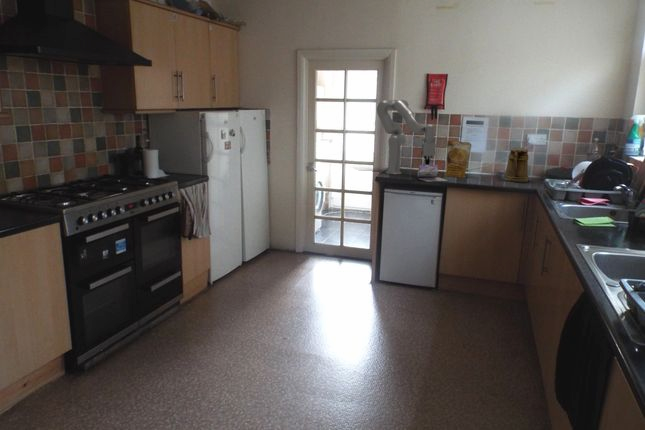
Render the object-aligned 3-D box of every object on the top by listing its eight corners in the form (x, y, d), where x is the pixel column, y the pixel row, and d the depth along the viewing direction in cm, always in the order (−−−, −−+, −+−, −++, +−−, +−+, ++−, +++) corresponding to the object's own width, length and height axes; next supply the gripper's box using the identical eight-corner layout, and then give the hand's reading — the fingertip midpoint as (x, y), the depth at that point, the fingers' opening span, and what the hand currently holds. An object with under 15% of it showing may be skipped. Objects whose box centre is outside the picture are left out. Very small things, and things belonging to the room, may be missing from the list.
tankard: (529, 180, 377) (533, 148, 371) (526, 184, 357) (530, 150, 351) (504, 177, 385) (508, 146, 379) (500, 181, 365) (504, 148, 359)
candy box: (435, 170, 375) (438, 164, 359) (435, 177, 374) (438, 172, 358) (417, 170, 376) (419, 164, 360) (417, 177, 375) (419, 172, 359)
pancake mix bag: (445, 174, 393) (448, 140, 386) (468, 177, 382) (472, 142, 375) (442, 175, 387) (445, 140, 381) (465, 178, 376) (469, 142, 370)
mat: (418, 178, 371) (418, 178, 371) (438, 177, 376) (439, 177, 376) (426, 181, 358) (426, 181, 358) (448, 181, 363) (448, 180, 363)
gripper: (422, 141, 365) (420, 165, 369) (440, 141, 369) (438, 164, 373) (417, 140, 372) (416, 164, 376) (435, 140, 376) (433, 163, 380)
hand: (427, 164), depth 375 cm, fingers closed
